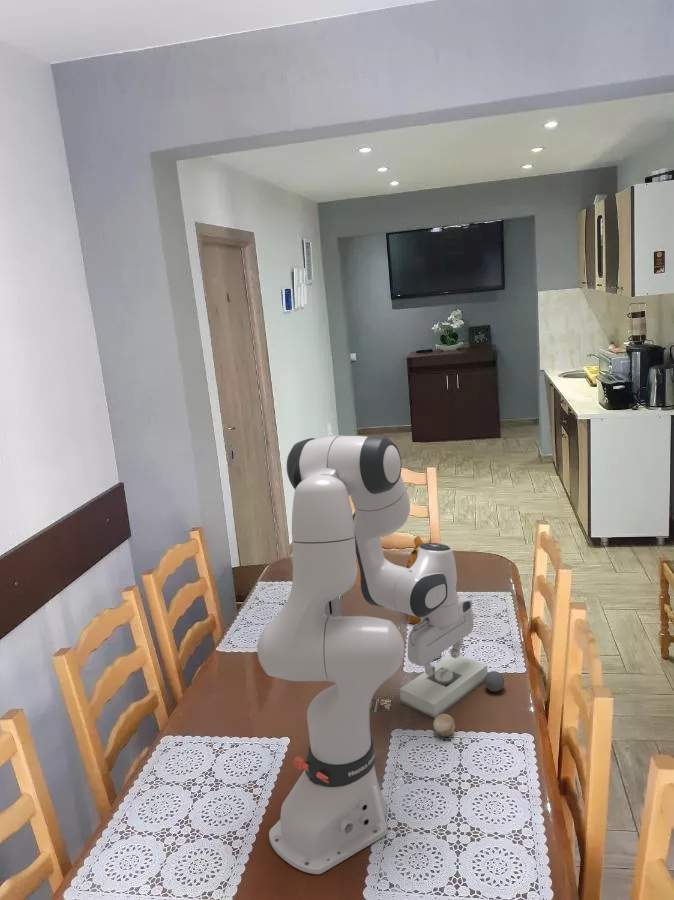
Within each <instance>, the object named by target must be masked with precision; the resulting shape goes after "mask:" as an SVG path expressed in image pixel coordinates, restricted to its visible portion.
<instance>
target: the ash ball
mask: <svg viewBox="0 0 674 900" xmlns="http://www.w3.org/2000/svg"><path fill="white" fill-rule="evenodd" d="M433 719H434V720H433V724H432V725H433V730H434V731H435V733H436V734H437V735H439V736H441V737H448V736H451V735H452V734H453V732H454V731H455V727H456V724H455V723H456V722H455V720H454V718H453V717H452V716H451V715H450V714H447V713H442V714H439V715H438V716H437V717H436V718H433Z"/></svg>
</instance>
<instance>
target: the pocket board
mask: <svg viewBox="0 0 674 900" xmlns="http://www.w3.org/2000/svg"><path fill="white" fill-rule="evenodd" d="M433 666H434V667H435V673H436V671H437V670H438V669H440V668H447V669H449V670H450V671H451V672H452V673H453V676H454V681H453V683H451V684H450V685H449V686H447V687H445V686H443V685H440V684H438V683H436V682H435V679H434V676H435V673H434V674H433V675H431V676H429V675H426V673H425V671H424V672H422V673H421V674H419V675H418V676H417V677H415V678H413V679H412V680H410V681H409V682H408V683H406V684H404V685H403V686H402V687H400V688H399V695H400V696H399V697H400V698H399V699H400V703H401V704H403V705H406V706H408V707H410V708H412V709H413V710H416V711H418V712H419V713H422V714H425V715H427V716H429V717H431V718H433V719H435V718H436V717H437V716H438V715H439V714H444V713H445V712H446V711H447V710H448V709H450V708H451V707H453V706H454V705H455V704H456V703H458V702H459V701H460V700H461V699H463V698H464V697H465V696H467V695H468V694H469V693H471V692H472V691H474V690H475V689H476V688H477V687H479V686H480V685H481V684H482V683H485V682H484V679H485V676H486V674H487V673H488V664H485V663H482V662H479V661H477V660H474V659H471V658H469V657H466V656H464V655H461V654H460V656H459V657H457V658H454V657H451V653H450V654H449V655H447V656H445V657H444V658H443V659H441V660H440V661H438V662H437V663H436V664H434V665H433Z"/></svg>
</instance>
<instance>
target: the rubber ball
mask: <svg viewBox="0 0 674 900" xmlns="http://www.w3.org/2000/svg"><path fill="white" fill-rule="evenodd" d="M483 683H484V685H485V687H486V689H488V690H489V691H491V692H495V693H496V692H499V691H500V690H502V689H503V688H504V685H505V679H504V676H503V674H502V673H500V672H499V671H495V670H491V671H489V672H487V674H486V676H485V679H484V682H483Z"/></svg>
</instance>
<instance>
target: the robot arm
mask: <svg viewBox="0 0 674 900" xmlns="http://www.w3.org/2000/svg"><path fill="white" fill-rule="evenodd" d="M400 453H401V452H400V450H399V448H398V446H397V445H396V444H395V443H394V442H393V440H391V439H390V438H389V437H386V436H381V435H377V434H376V435H375V434H374V435H373V434H371V435H369V436H365V435H343V434H339V435H329V436H323V437H318V438H316V437H315V438H314V437H311V438H306V439H303V440H300V441H298V442H296V443H294V444H293V446H292V447H291V449H290V451H289V452H288V455H287V459H286V473H287V476H288V480H289V482H290V484H291V486H292V488H293V489H294V493H293V501H292V511H291V543H292V544H291V545H292V546H291V548H292V582H291V583H292V584H291V589H290V592H289V596H288V598H287V600H286V602H285V605H283V607H282V609H281V611H279V613H278V614H277V616H275V617H274V618H273V619H272V620H271V621H270V622H268V623H267V625H266V626H265V627H264V628H263V630H262V631H261V634H260V635H259V638H258V641H257V649H256V650H257V651H256V652H257V657H258V661H259V664H260V665H261V667H262V669H263V671H264V672H265V673H266V675H268V676H269V677H273V678H277V679H281V680H286V681H291V682H331V683H334V684H333V685H331V686H329V687H327V688H325V689H323V690H322V691H320V692H319V693H318V694H317V695H315V697H314V698H312V700H311V701H310V703H309V705H308V708H307V711H306V721H307V728H308V738H309V746H308V749H307V754H306V759H304V758H303V757H302V756H300V755H299V756H296V757H294V761H292V762H293V764H292V765H293V767H294V768H296V769H298V770H299V771H300V772H302V773H301V775H300V776H299V778H298V779H297V781H296V783H295V784H294V786H293V788H292V789H291V790H290V791H289V793H288V795H287V797H285V800H284V801H283V802H282V805H281V807H280V819H279V820H277V822H276V823H275V824H274V825H273V826H272V827H271V828H270V829H269V832H268V838H269V843H270V845H271V848H272V849H273V850H274V851H275V853H276V854H277V855H278V856H279V857H280V858H281V859H283V861H284V862H287V863H288V864H289V865H290V866H291V867H294V868H295V869H296V870H297V869H298V870H299V871H302V872H304V873H307V874H313V875H321V874H323V873H326V871H329V870H330V869H333V868H334V867H335V866H337V865H338V864H340V863H342V862H343V861H345V860H347V859H348V858H350V857H352V856H354V855H355V854H357V853H358V852H360V851H362V850H363V849H365V848H367V847H368V846H371V845H372V844H373V843H375V842H377V841H379V840H380V839H382V838H384V837H385V836H386V835H387V834H388V831H389V830H388V828H389V827H388V825H387V821H386V815H387V811H388V810H387V808H388V807H387V802H386V799H385V797H384V795H383V793H382V790H381V788H380V784H379V781H378V776H377V772H376V767H375V764H376V752H375V743H374V739H373V737H372V735H371V726H370V724H371V722H370V719H371V718H370V713H371V712H370V711H371V710H370V709H371V703H372V700H373V697H374V696H375V694H376V692H377V690H378V689H379V688H380V687H381V686H382V685H383V684H384V683H385V682H386V681H388V679H390V678H392V677H393V676H395V674H396V673H397V672H398V670H399V669H400V667H401V665H402V662H403V660H404V656H405V642H404V638H403V635H402V633H401V631H400V629H399V628H398V627H397V625H396V624H395V623H394V622H393V621H392V620H390V619H385V618H379V617H374V616H369V615H368V616H367V615H352V616H351V615H349V616H348V615H344V616H343V615H342V616H332V617H330V616H327V615H326V614H325V606H326V604H327V603H328V602H329V601H331V600H333V599H335V598H337V597H339V598H340V597H341V596H343V595H344V594H345V593H347V592H348V591H350V590H351V589H352V587H353V586H354V584H355V583H356V582H357V581H356V580H357V579H358V578H357V577H358V567H359V572H360V573H359V575H360V580H359V582H360V591H361V593H362V596H363V599H364V600H365V601H366V603H367V604H369V605H372V606H376V607H379V608H380V607H381V608H386V609H390V610H393V611H396V612H400V613H402V614H405V615H407V614H409V615H412V616H417V617H420V618H421V620H422V621H421V622H419V623H414V624H413V626H412V629H411V631H410V632H409V635H408V638H407V658H408V661H409V662H410V663H412V664H414V665H417V666H419V667H422V666H423V667H424V672H425V673H426V675H429V676H431V675H433V674H434V673H435V667H434V665H431V663H432V660H431V659H433V658H434V657H436V656H437V655H439V654H440V653H441V654H442V653H443V652H445V651H446V650H447V649H449V648H451V649H449V651H450V652H449V653H450V654H451V657H454V658H457V657H459V656H460V655H461V649H462V645H463V643H464V638H465V637H467V636H468V635H471V633H472V632H473V630H474V627H475V626H474V612H473V611H474V610H473V609H472V608H473V605H474V604H473V600H472V599H470V598H468V597H465V596H462V595H460V594H458V593H457V582H458V576H457V566H456V565H457V564H456V559H455V556H454V552H453V550H452V548H451V547H450V546H449V545H446V544H442V543H438V542H425V543H424V542H423V543H424V544H422V545H420V546H419V547H418V552H417V559H416V561H415V563H414V564H413V565H412V567H411V568H406V566H401V565H397V564H395V563H392V562H391V561H389V560H388V559H386V557H385V556H384V552H383V551H384V550H383V546H382V540H381V538H384V537H388V536H390V535H393V534H394V533H395V532H397V531H398V530H399V529H400V528H402V527H403V526H404V524H405V523H406V522H407V520H408V519H409V516H410V513H411V504H410V503H411V502H410V498H409V494H408V490H407V489H406V488H407V487H406V485H405V483H404V482H405V481H404V480H403V479H404V478H403V477H402V475H401V474H402V473H401V472H402V457H401V454H400ZM350 498H351V500H350ZM351 503H352V505H353V508H354V512H353V509H352V505H351ZM357 563H358V566H357Z"/></svg>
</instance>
